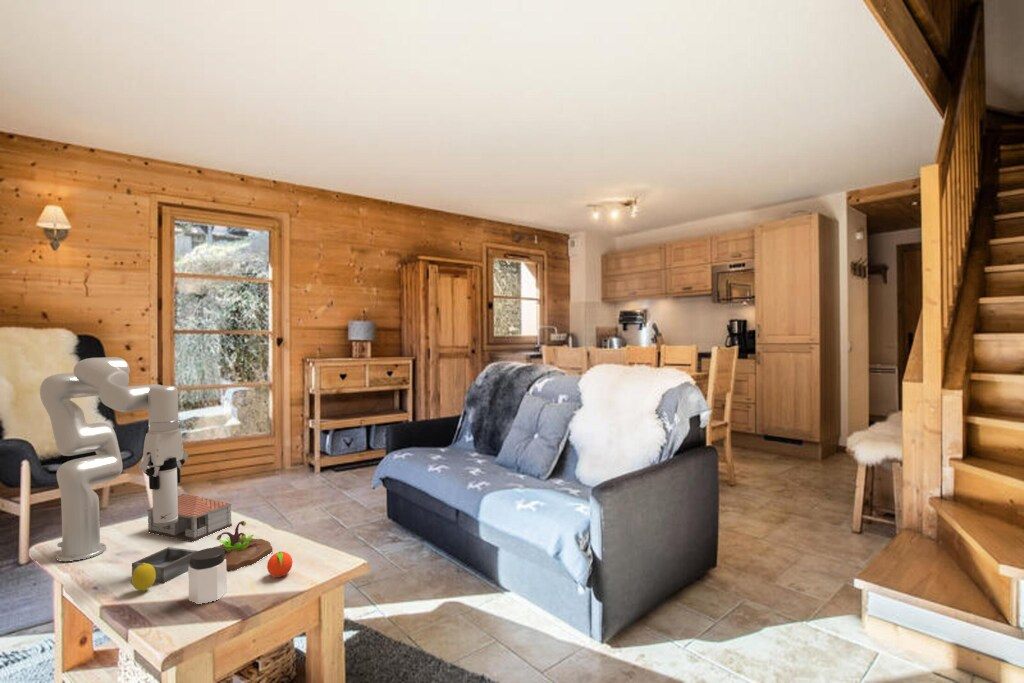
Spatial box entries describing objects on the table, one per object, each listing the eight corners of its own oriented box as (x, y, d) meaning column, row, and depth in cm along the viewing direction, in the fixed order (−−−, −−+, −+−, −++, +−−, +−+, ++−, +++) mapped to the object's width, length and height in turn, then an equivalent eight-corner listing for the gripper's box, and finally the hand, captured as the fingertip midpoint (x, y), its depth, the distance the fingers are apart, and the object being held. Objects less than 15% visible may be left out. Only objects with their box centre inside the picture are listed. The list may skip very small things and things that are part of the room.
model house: (147, 533, 188) (146, 493, 187) (187, 519, 202) (187, 481, 202) (192, 543, 179) (192, 500, 179) (232, 527, 194) (231, 487, 193)
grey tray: (132, 578, 152) (131, 563, 152) (168, 561, 164) (168, 547, 164) (163, 583, 149) (163, 567, 149) (199, 565, 161) (198, 550, 161)
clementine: (294, 579, 151) (294, 555, 151) (268, 585, 148) (268, 560, 148) (291, 568, 158) (290, 545, 158) (266, 573, 155) (265, 550, 155)
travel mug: (166, 527, 153) (165, 460, 152) (148, 526, 154) (146, 459, 154) (184, 520, 159) (182, 455, 158) (166, 519, 160) (164, 455, 160)
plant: (284, 551, 171) (284, 518, 171) (228, 576, 154) (228, 539, 154) (245, 540, 181) (245, 509, 180) (188, 563, 163) (188, 528, 163)
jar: (203, 588, 146) (202, 546, 146) (231, 588, 146) (231, 546, 146) (182, 605, 137) (181, 560, 137) (213, 605, 137) (212, 560, 137)
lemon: (152, 584, 149) (151, 557, 148) (158, 590, 145) (158, 562, 145) (129, 592, 144) (128, 563, 144) (135, 598, 141) (134, 569, 141)
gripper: (179, 421, 165) (180, 477, 166) (126, 431, 149) (127, 493, 149) (198, 422, 163) (199, 478, 164) (146, 432, 147) (147, 495, 147)
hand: (165, 485), depth 156 cm, fingers closed on travel mug, 6 cm apart
